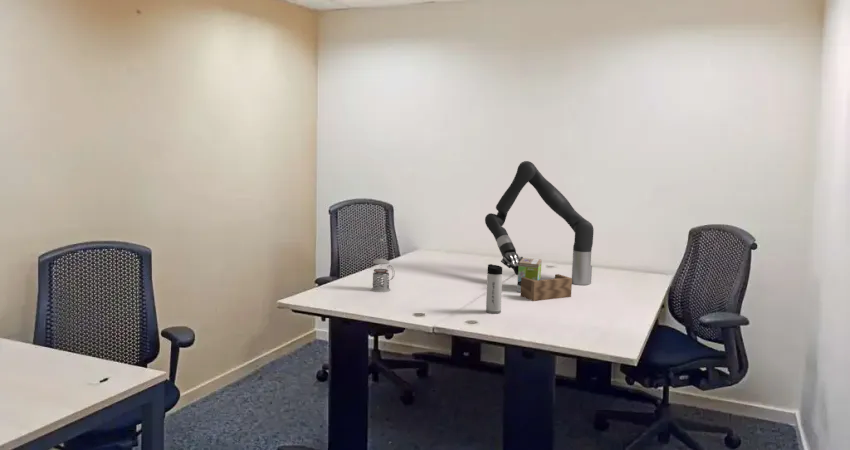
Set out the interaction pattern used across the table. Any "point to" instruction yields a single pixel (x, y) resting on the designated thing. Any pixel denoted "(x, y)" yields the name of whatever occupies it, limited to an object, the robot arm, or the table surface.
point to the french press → (381, 276)
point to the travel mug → (494, 289)
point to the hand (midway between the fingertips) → (518, 273)
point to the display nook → (546, 288)
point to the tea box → (529, 270)
